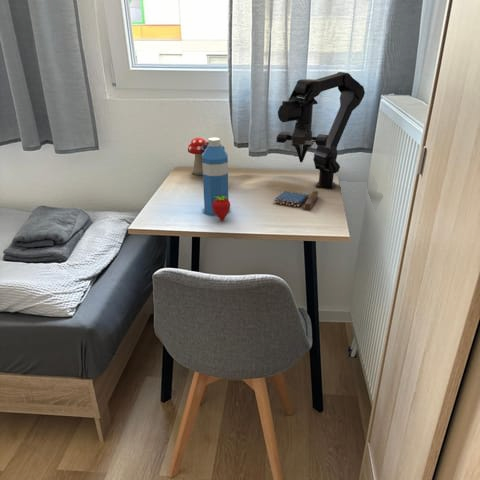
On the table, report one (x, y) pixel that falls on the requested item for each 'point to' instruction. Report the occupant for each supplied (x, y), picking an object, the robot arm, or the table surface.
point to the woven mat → (291, 198)
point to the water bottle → (214, 173)
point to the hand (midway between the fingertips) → (301, 162)
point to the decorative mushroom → (197, 154)
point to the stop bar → (311, 200)
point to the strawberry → (221, 207)
